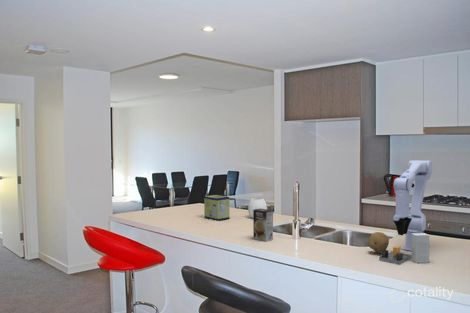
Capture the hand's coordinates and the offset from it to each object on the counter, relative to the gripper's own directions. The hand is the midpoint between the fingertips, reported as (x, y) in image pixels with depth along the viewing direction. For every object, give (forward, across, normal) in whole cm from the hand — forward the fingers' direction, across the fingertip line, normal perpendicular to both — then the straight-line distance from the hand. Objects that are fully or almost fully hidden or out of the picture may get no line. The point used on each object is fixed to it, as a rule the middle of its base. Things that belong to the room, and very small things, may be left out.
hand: (402, 234), depth 182 cm
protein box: (+10, +5, +131) cm, 131 cm away
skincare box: (+10, -3, -9) cm, 14 cm away
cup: (+10, +26, +112) cm, 115 cm away
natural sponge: (+10, -3, +10) cm, 15 cm away
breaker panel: (+10, -7, 0) cm, 12 cm away
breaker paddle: (+8, -6, 0) cm, 10 cm away
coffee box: (+10, -19, +67) cm, 70 cm away
